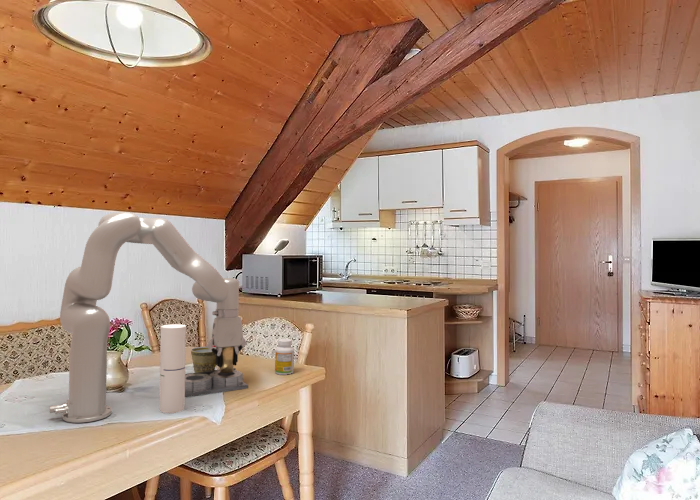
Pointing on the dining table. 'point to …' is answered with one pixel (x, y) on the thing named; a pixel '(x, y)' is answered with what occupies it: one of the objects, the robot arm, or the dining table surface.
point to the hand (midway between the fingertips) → (226, 365)
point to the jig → (213, 382)
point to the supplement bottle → (284, 357)
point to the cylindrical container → (172, 368)
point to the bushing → (227, 360)
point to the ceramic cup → (203, 359)
